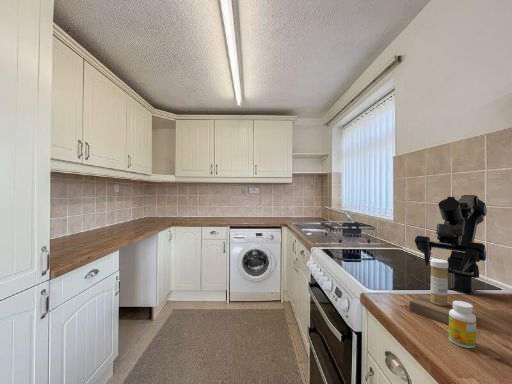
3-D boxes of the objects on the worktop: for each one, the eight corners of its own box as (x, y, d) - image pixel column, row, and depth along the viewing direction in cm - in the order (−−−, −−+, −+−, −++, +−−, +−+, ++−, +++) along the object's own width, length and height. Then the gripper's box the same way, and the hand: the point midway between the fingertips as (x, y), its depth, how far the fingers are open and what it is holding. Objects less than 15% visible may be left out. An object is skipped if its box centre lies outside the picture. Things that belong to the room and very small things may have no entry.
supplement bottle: (443, 336, 68) (443, 299, 68) (462, 336, 69) (463, 299, 69) (461, 349, 63) (461, 308, 63) (481, 348, 63) (482, 308, 63)
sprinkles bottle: (446, 302, 83) (446, 259, 83) (449, 307, 79) (449, 263, 79) (428, 299, 85) (429, 257, 85) (430, 304, 81) (431, 260, 81)
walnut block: (427, 302, 90) (427, 293, 90) (470, 316, 80) (471, 306, 80) (409, 310, 83) (409, 301, 83) (454, 327, 73) (454, 316, 73)
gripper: (416, 212, 94) (404, 247, 87) (485, 217, 80) (478, 259, 73) (423, 232, 99) (412, 267, 92) (489, 240, 85) (482, 281, 78)
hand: (443, 268), depth 83 cm, fingers open, 9 cm apart
